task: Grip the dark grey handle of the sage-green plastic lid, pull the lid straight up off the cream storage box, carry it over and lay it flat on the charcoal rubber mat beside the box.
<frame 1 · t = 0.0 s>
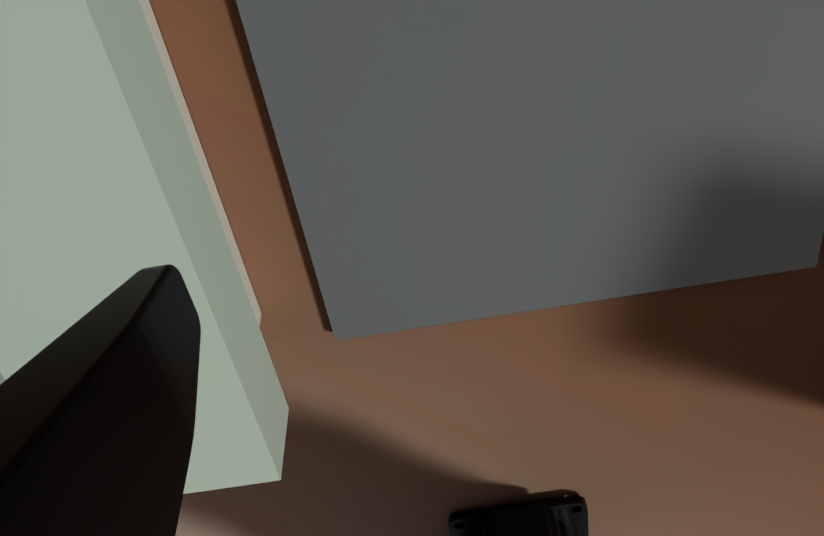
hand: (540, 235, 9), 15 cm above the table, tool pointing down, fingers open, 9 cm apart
mat: (559, 72, 24), on the table
storage box: (14, 193, 25), on the table
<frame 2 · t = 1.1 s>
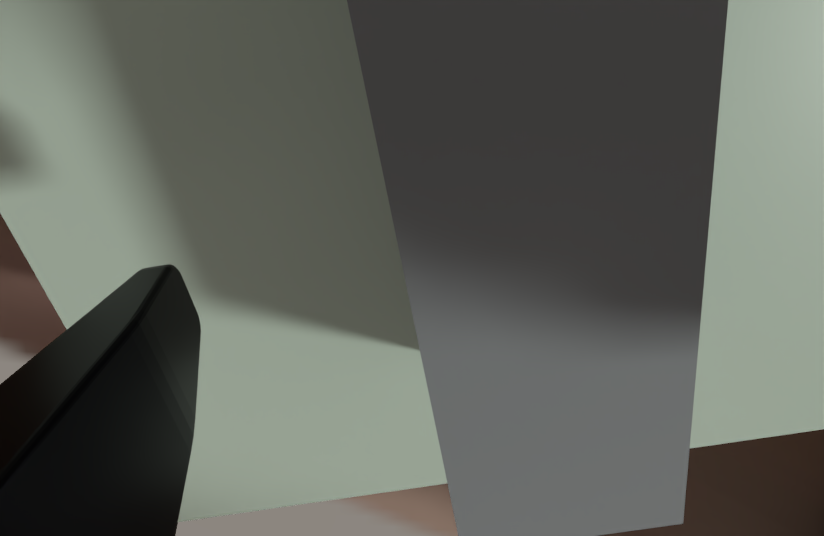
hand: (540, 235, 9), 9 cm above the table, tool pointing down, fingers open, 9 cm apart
lid: (478, 64, 14), point 4 cm above the table, touching storage box
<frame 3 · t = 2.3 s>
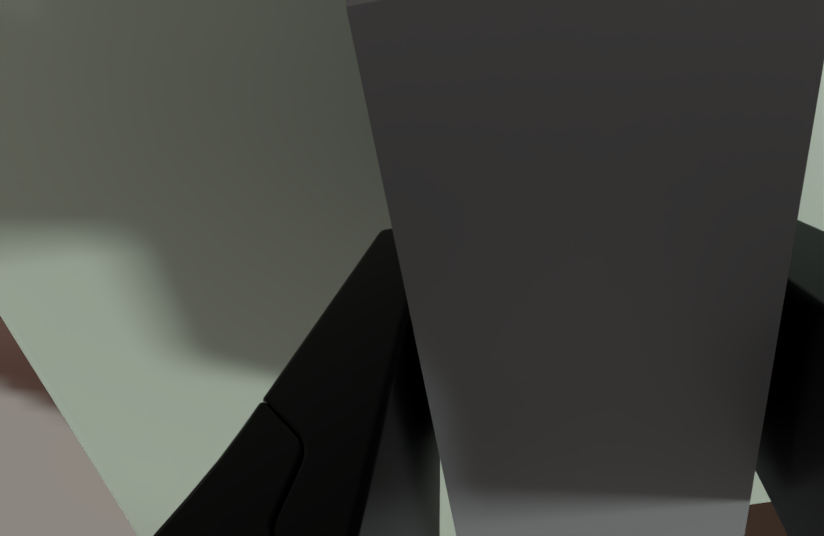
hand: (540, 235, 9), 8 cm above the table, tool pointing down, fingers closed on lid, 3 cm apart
lid: (495, 99, 13), point 4 cm above the table, touching gripper, storage box
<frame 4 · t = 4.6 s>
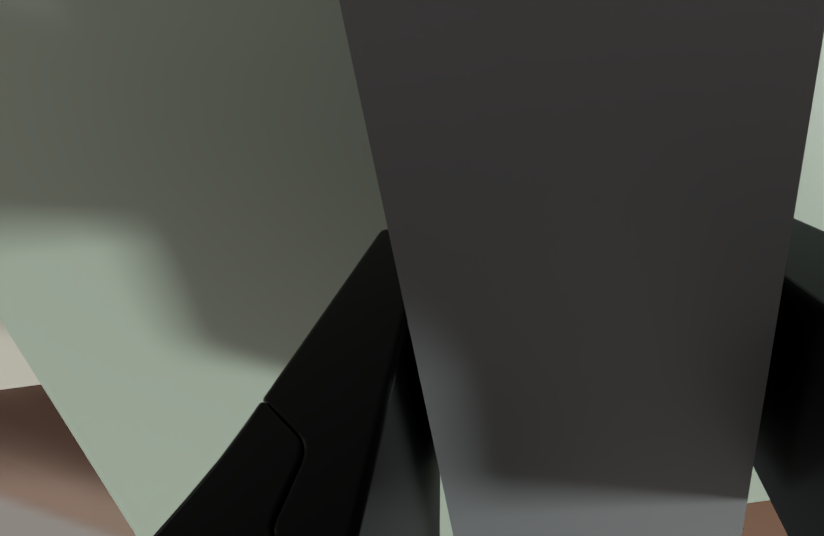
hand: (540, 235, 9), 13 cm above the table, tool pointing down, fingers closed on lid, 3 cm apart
lid: (493, 97, 13), point 9 cm above the table, touching gripper
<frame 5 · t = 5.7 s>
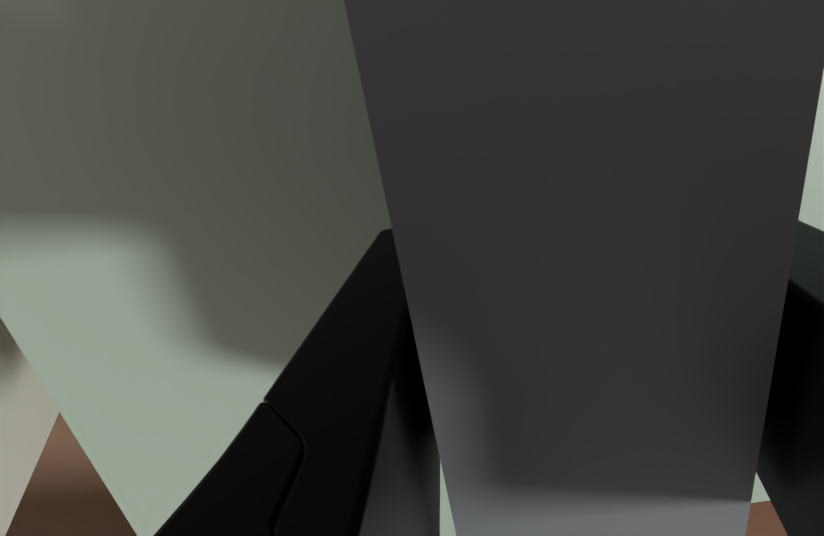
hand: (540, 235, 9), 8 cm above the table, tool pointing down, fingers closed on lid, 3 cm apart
lid: (494, 96, 13), point 4 cm above the table, touching gripper
when the fingers open (6 cm above the table, at t = 6.8 s): lid drops 2 cm, resting on mat.
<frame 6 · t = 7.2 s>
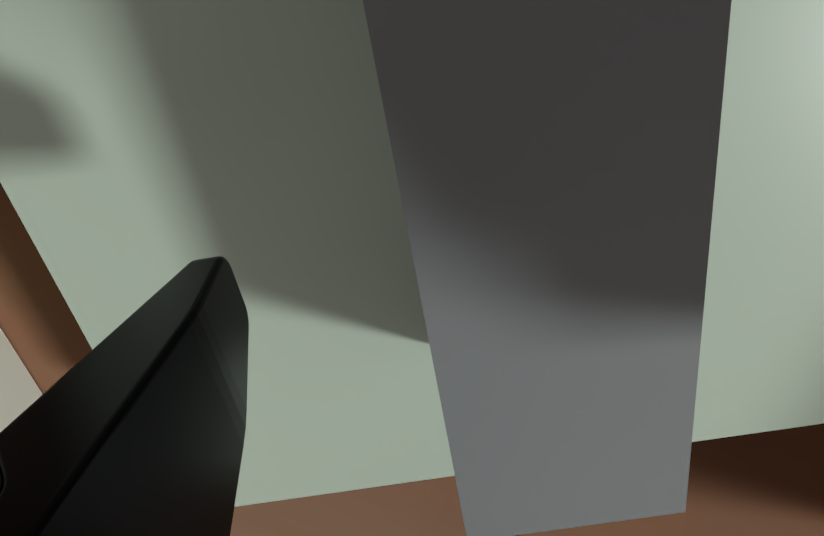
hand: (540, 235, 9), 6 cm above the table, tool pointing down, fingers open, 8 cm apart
lid: (483, 61, 14), resting on mat
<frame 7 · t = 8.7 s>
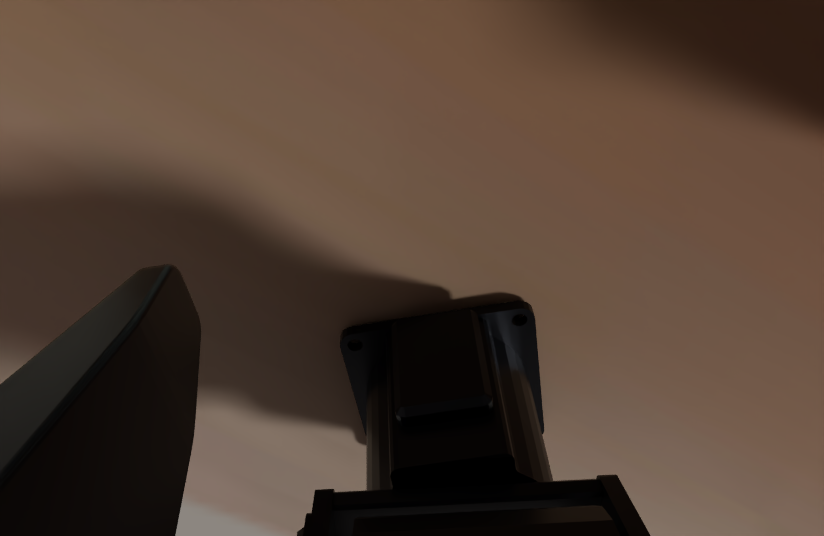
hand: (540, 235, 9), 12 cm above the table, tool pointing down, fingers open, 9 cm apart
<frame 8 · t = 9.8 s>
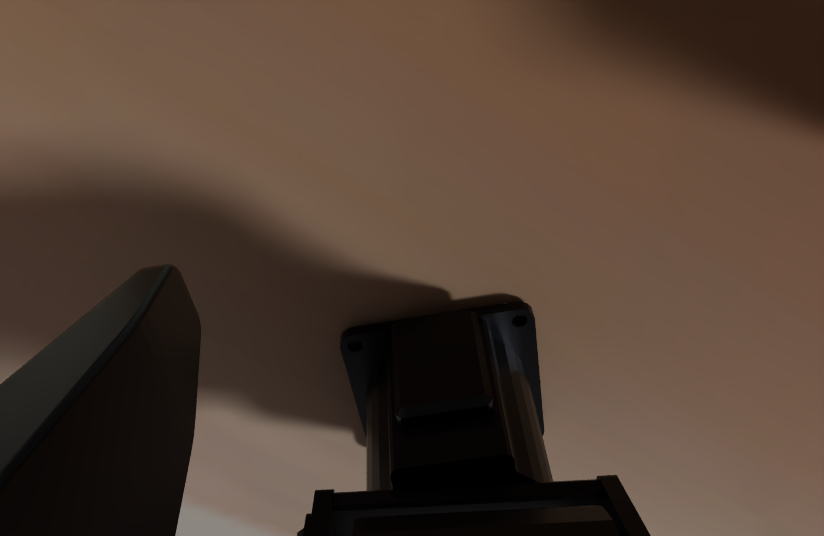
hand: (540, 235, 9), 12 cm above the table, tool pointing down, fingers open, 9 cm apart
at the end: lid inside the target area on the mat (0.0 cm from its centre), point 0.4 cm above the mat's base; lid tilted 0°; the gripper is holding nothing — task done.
